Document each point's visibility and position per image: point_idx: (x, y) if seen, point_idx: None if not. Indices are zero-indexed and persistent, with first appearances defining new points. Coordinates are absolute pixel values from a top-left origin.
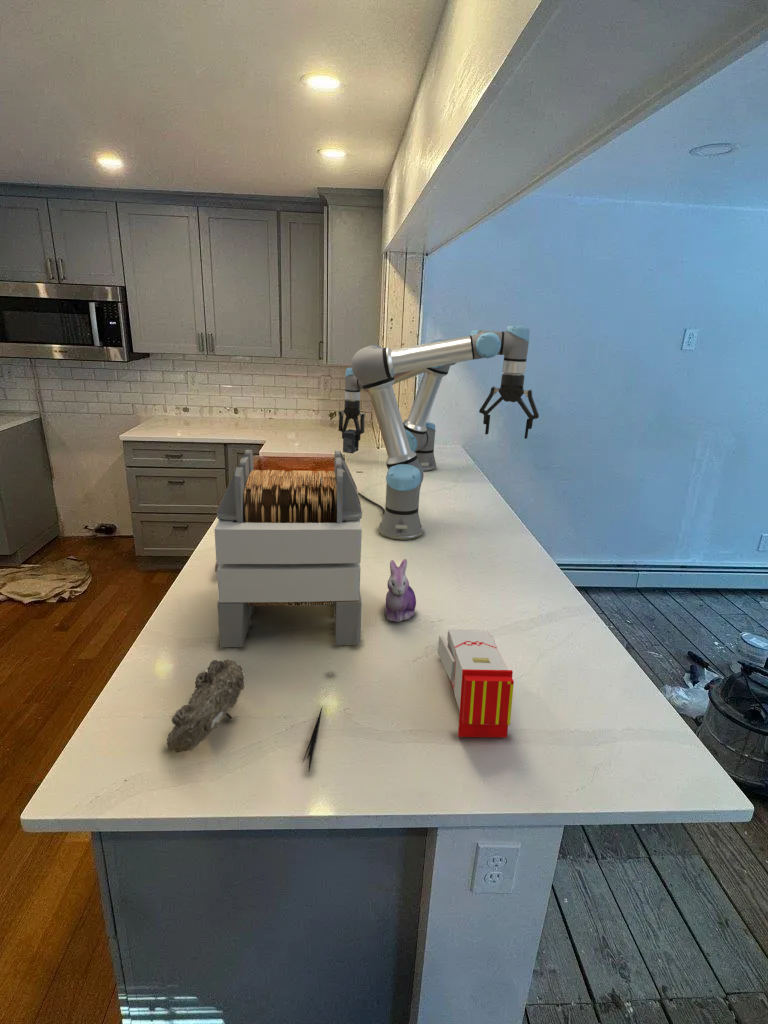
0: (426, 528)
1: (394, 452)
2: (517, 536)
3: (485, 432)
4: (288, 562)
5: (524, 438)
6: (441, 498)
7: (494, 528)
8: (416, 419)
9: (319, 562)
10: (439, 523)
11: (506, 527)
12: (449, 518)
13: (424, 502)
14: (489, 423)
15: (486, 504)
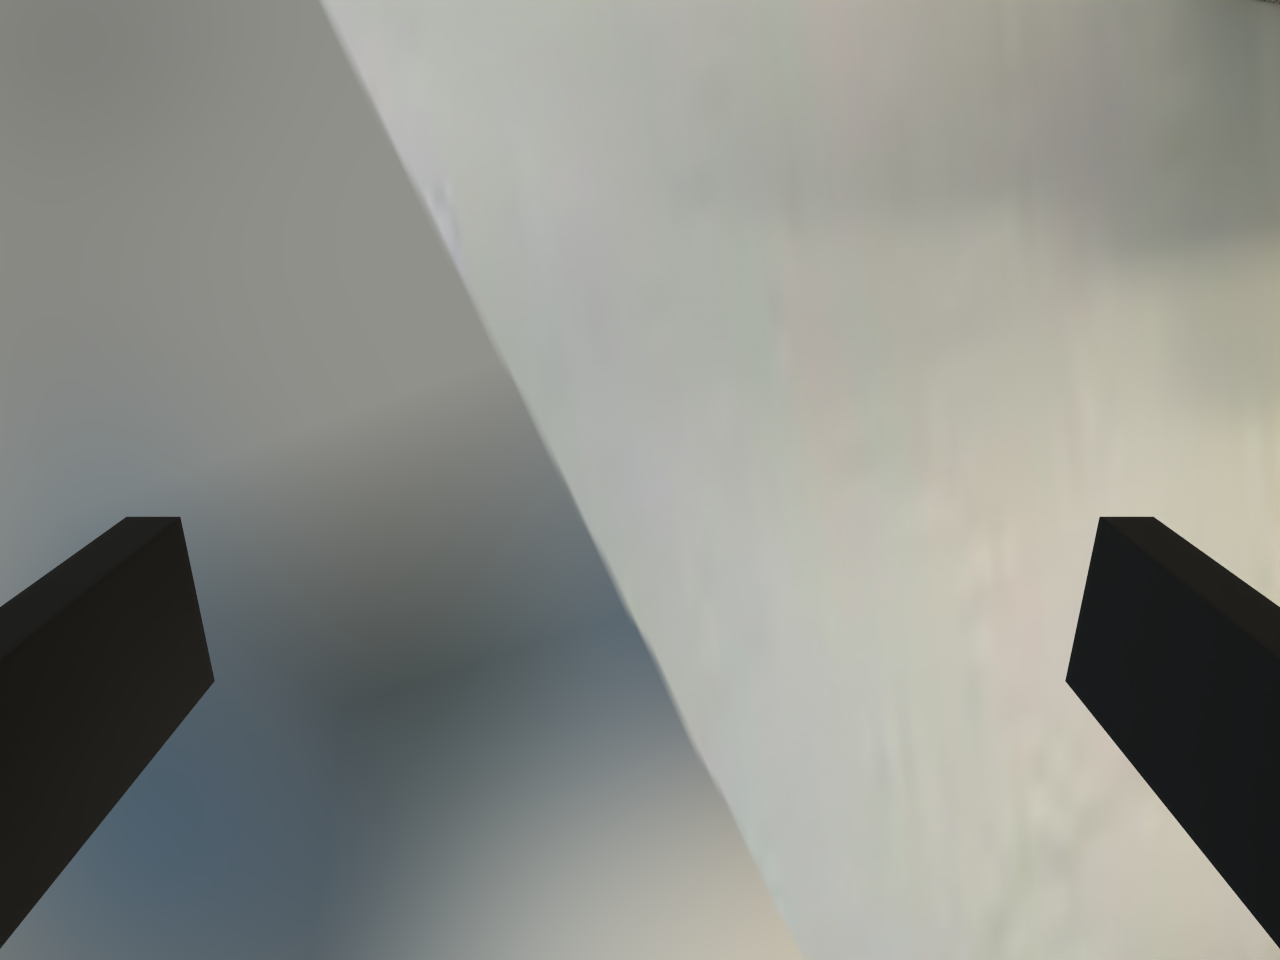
0: (1133, 10)
1: None
2: (463, 161)
3: (1174, 536)
4: None
5: (176, 519)
6: (1066, 674)
7: (642, 251)
8: None
9: None
10: (1042, 171)
11: (566, 310)
12: (978, 311)
13: None
14: (1207, 852)
15: (760, 685)
